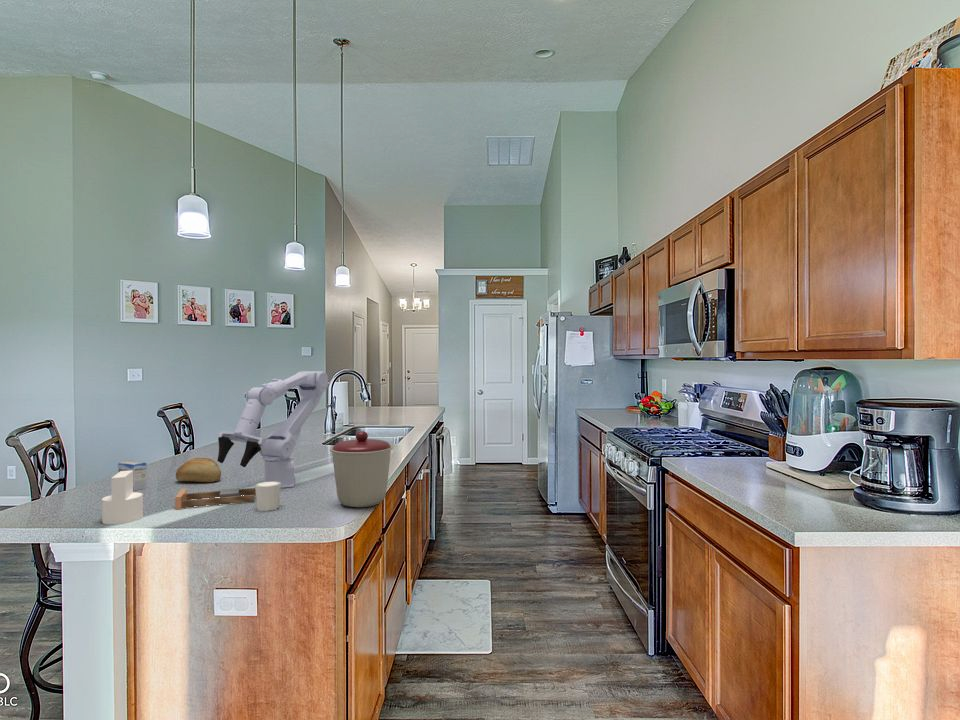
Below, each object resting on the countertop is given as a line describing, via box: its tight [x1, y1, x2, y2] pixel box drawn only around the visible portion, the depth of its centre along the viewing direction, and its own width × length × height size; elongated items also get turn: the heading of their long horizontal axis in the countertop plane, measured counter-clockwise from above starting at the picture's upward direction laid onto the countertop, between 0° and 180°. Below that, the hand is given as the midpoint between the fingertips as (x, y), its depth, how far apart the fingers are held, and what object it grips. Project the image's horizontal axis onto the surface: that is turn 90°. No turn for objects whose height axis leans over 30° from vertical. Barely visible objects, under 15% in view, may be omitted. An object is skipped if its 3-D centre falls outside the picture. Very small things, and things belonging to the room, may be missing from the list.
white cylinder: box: [254, 481, 281, 512], centre depth 153 cm, size 7×7×7 cm
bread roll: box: [175, 457, 222, 483], centre depth 186 cm, size 10×15×8 cm, turn 91°
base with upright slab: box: [101, 470, 144, 525], centre depth 143 cm, size 9×9×12 cm
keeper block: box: [220, 487, 240, 498], centre depth 161 cm, size 5×6×3 cm
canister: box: [329, 430, 394, 508], centre depth 158 cm, size 18×18×21 cm
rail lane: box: [174, 487, 256, 510], centre depth 160 cm, size 20×11×4 cm, turn 110°
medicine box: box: [117, 460, 148, 492], centre depth 176 cm, size 8×4×9 cm, turn 68°
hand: (231, 464), depth 162 cm, fingers open, 7 cm apart
